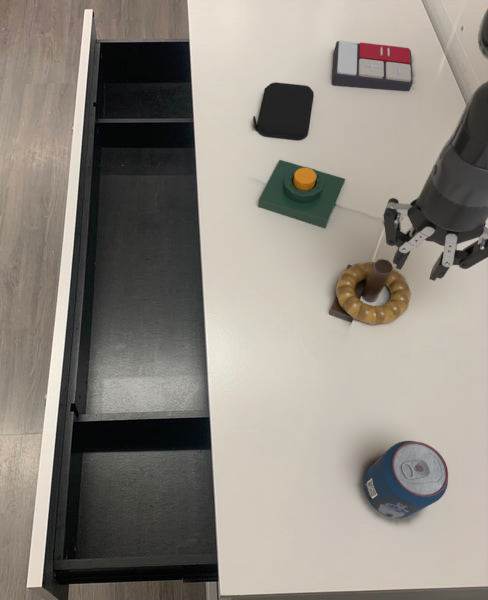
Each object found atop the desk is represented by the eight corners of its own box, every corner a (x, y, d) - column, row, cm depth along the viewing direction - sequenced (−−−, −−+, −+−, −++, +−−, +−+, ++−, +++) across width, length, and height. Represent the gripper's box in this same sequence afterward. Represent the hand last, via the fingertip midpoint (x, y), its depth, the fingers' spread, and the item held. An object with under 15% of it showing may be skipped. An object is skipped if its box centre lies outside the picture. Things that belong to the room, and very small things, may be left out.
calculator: (414, 80, 101) (335, 71, 102) (406, 99, 105) (330, 90, 106) (412, 45, 106) (337, 36, 108) (404, 64, 110) (332, 56, 111)
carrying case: (260, 89, 107) (249, 140, 100) (261, 76, 104) (249, 127, 97) (313, 95, 106) (306, 147, 98) (315, 82, 103) (308, 134, 96)
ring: (414, 280, 80) (419, 270, 78) (398, 336, 75) (402, 327, 73) (346, 261, 83) (349, 251, 81) (326, 313, 79) (329, 304, 76)
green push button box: (342, 187, 93) (347, 171, 89) (325, 228, 88) (329, 213, 85) (278, 168, 96) (280, 151, 92) (258, 207, 91) (259, 191, 88)
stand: (403, 288, 82) (424, 252, 74) (388, 336, 78) (408, 303, 70) (346, 269, 84) (360, 232, 76) (329, 314, 80) (342, 280, 72)
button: (317, 178, 89) (319, 171, 88) (310, 193, 88) (312, 186, 86) (297, 172, 90) (298, 165, 89) (290, 187, 89) (291, 179, 87)
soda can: (405, 459, 69) (439, 431, 58) (425, 515, 65) (465, 496, 55) (353, 467, 68) (377, 441, 58) (371, 524, 65) (400, 507, 55)
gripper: (545, 173, 56) (476, 265, 70) (409, 136, 59) (370, 232, 74) (536, 224, 52) (465, 310, 67) (392, 182, 56) (355, 273, 71)
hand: (416, 269), depth 70 cm, fingers open, 4 cm apart
